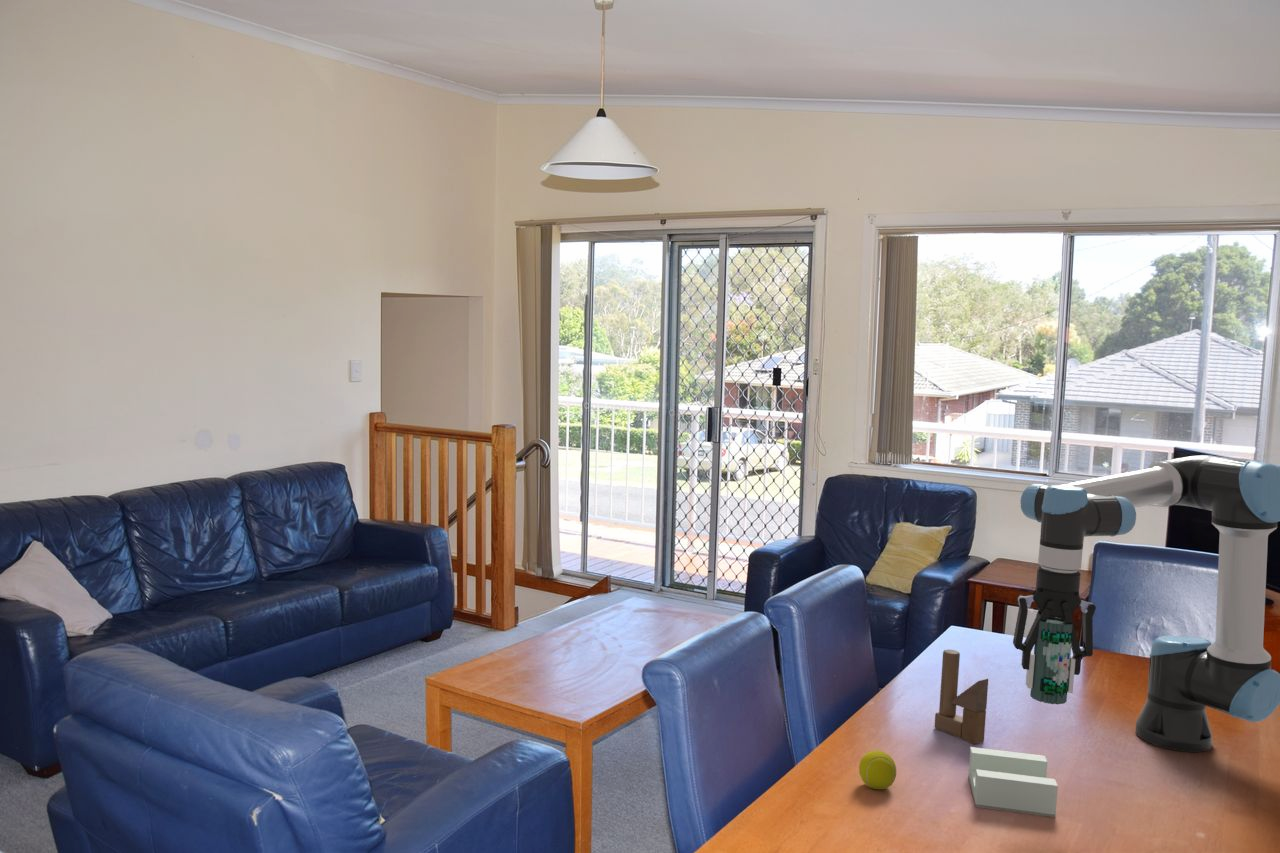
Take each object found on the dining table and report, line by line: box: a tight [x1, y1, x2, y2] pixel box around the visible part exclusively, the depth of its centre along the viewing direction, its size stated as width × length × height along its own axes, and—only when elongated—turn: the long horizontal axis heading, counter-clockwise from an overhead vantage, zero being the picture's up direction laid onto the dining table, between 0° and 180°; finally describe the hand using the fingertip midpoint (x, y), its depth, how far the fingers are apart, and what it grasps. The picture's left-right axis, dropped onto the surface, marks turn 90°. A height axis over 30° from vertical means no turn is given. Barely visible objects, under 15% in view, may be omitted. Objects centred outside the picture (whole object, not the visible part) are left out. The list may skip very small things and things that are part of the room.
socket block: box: [967, 746, 1059, 818], centre depth 193 cm, size 14×14×6 cm
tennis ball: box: [858, 750, 897, 790], centre depth 195 cm, size 7×7×7 cm
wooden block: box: [934, 649, 989, 745], centre depth 222 cm, size 4×11×18 cm, turn 36°
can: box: [1030, 617, 1073, 705], centre depth 190 cm, size 6×6×15 cm
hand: (1048, 688), depth 191 cm, fingers closed on can, 6 cm apart
